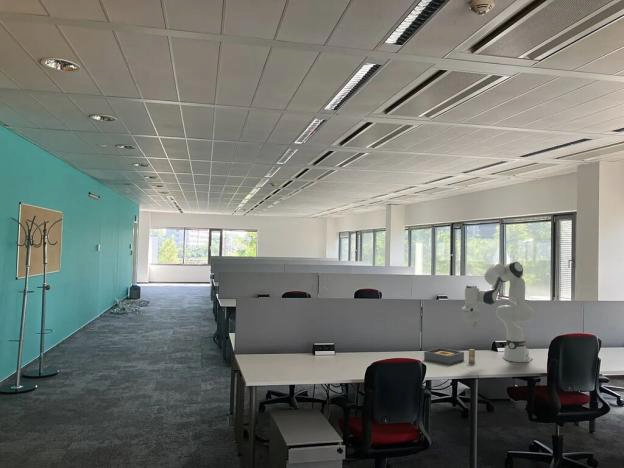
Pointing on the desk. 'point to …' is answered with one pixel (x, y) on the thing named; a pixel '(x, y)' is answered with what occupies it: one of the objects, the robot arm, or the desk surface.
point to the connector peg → (471, 356)
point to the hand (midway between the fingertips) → (471, 328)
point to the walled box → (444, 356)
